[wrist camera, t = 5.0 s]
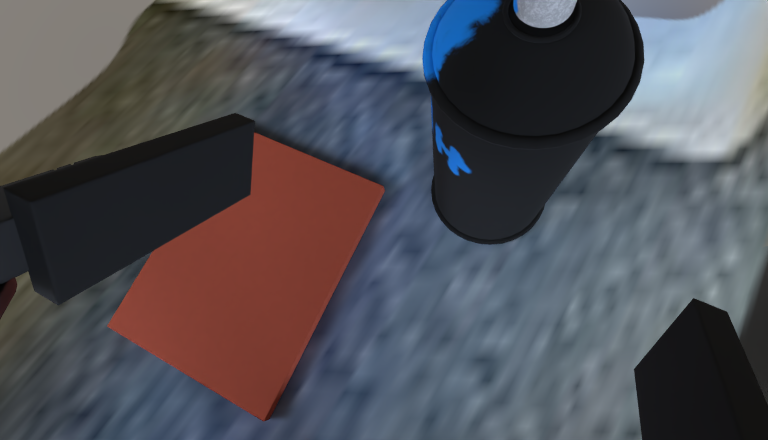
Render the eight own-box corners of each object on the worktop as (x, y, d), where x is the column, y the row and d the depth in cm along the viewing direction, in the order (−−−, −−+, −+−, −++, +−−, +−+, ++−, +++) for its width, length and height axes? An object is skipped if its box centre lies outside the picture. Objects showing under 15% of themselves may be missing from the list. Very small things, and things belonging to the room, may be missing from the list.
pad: (385, 190, 32) (383, 185, 31) (269, 419, 29) (263, 421, 28) (236, 128, 36) (231, 122, 35) (116, 326, 32) (106, 326, 31)
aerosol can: (552, 148, 32) (719, -148, 13) (537, 255, 30) (711, 95, 11) (442, 133, 33) (443, -152, 14) (421, 233, 31) (389, 59, 12)
